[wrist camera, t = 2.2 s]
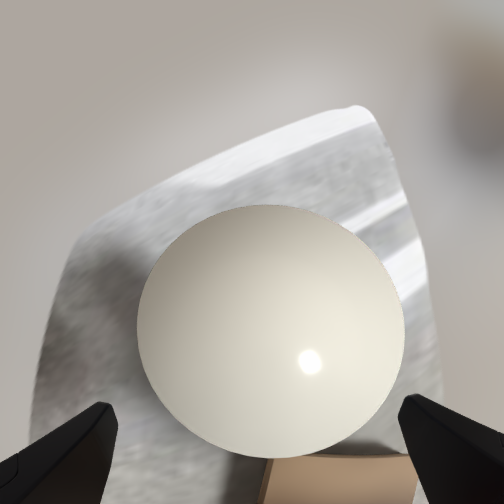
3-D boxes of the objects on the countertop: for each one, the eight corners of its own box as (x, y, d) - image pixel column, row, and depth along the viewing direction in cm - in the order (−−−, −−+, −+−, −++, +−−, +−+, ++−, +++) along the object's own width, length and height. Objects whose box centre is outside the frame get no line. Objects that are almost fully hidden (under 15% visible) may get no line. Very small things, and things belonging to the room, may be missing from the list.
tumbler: (300, 418, 15) (432, 405, 4) (211, 435, 15) (154, 474, 4) (282, 338, 18) (354, 197, 7) (198, 351, 17) (137, 220, 6)
